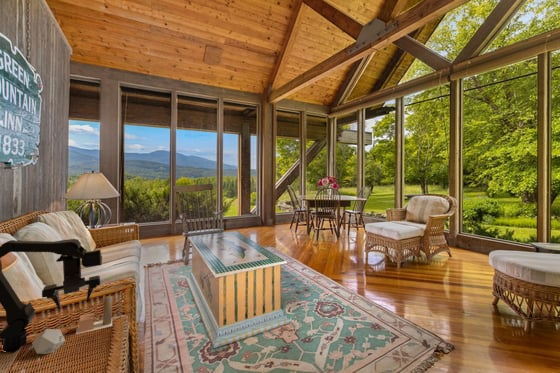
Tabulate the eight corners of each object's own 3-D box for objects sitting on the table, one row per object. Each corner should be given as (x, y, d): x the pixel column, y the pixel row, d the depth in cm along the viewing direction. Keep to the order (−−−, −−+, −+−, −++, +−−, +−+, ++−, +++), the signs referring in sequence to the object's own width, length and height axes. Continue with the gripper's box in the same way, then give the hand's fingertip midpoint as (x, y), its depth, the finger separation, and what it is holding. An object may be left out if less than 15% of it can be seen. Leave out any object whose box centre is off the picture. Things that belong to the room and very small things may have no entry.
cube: (78, 332, 106) (79, 320, 106) (79, 326, 110) (80, 315, 110) (93, 329, 109) (93, 317, 109) (93, 323, 113) (94, 312, 113)
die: (35, 365, 89) (58, 339, 92) (19, 349, 90) (43, 324, 94) (54, 358, 97) (75, 334, 100) (39, 343, 98) (61, 320, 101)
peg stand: (75, 336, 105) (77, 306, 105) (76, 328, 110) (78, 299, 110) (112, 327, 112) (113, 299, 112) (111, 320, 118) (113, 293, 118)
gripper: (38, 281, 93) (40, 322, 93) (99, 269, 104) (101, 306, 105) (43, 272, 102) (45, 309, 102) (99, 262, 113) (100, 296, 113)
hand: (73, 305), depth 105 cm, fingers open, 9 cm apart
